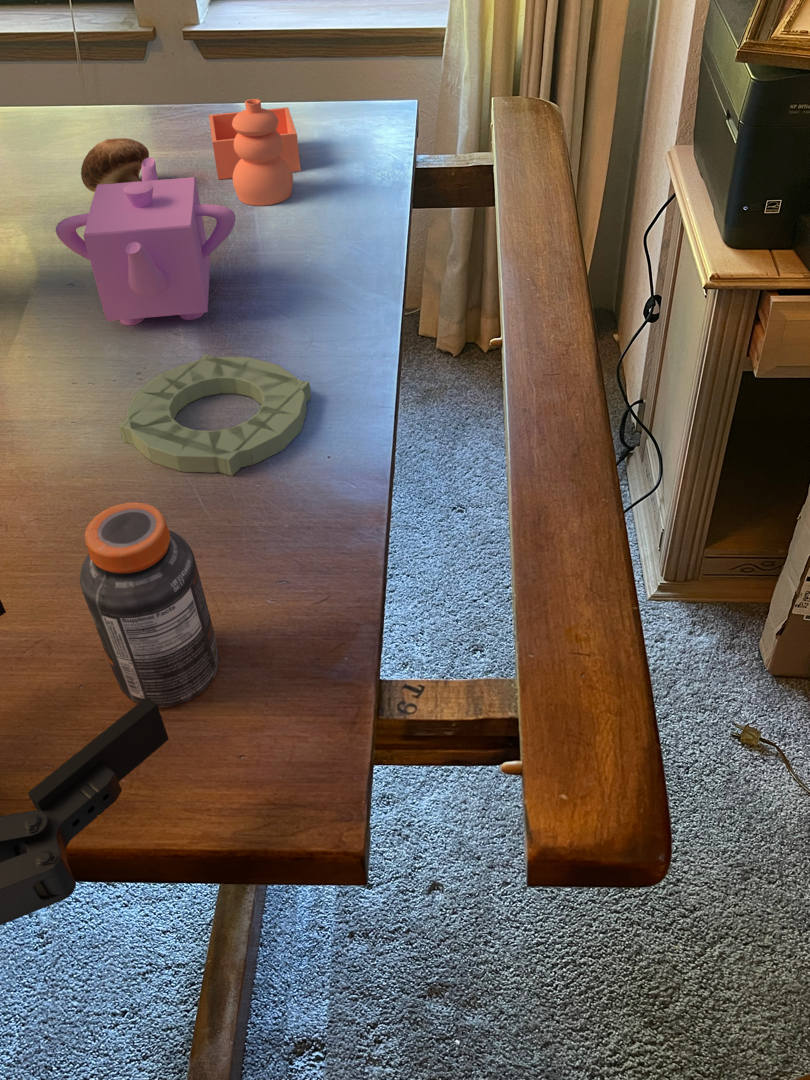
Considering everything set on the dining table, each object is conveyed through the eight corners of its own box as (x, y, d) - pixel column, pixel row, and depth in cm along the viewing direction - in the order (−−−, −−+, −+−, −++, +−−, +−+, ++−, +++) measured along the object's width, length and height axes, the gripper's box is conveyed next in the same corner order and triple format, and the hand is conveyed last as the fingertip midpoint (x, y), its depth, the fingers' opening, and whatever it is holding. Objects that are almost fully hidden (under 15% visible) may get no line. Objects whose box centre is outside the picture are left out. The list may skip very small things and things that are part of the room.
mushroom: (163, 170, 102) (127, 117, 100) (102, 212, 102) (65, 159, 100) (167, 180, 110) (133, 131, 108) (110, 219, 110) (75, 170, 108)
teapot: (54, 304, 88) (18, 188, 80) (169, 253, 95) (146, 142, 88) (156, 360, 80) (127, 238, 73) (272, 300, 87) (257, 183, 80)
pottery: (214, 150, 115) (200, 63, 108) (292, 143, 116) (282, 56, 110) (222, 211, 102) (207, 116, 95) (310, 202, 103) (300, 107, 97)
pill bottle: (135, 629, 57) (87, 484, 50) (231, 634, 57) (197, 488, 49) (103, 708, 53) (45, 563, 45) (206, 714, 53) (166, 569, 45)
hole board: (95, 444, 72) (90, 428, 70) (200, 358, 80) (197, 342, 79) (242, 492, 67) (239, 475, 66) (336, 395, 75) (335, 379, 74)
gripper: (-442, 851, 45) (-40, 594, 57) (-191, 1262, 33) (252, 827, 45) (-555, 759, 40) (-88, 498, 51) (-308, 1206, 28) (228, 731, 39)
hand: (71, 650), depth 48 cm, fingers open, 13 cm apart
